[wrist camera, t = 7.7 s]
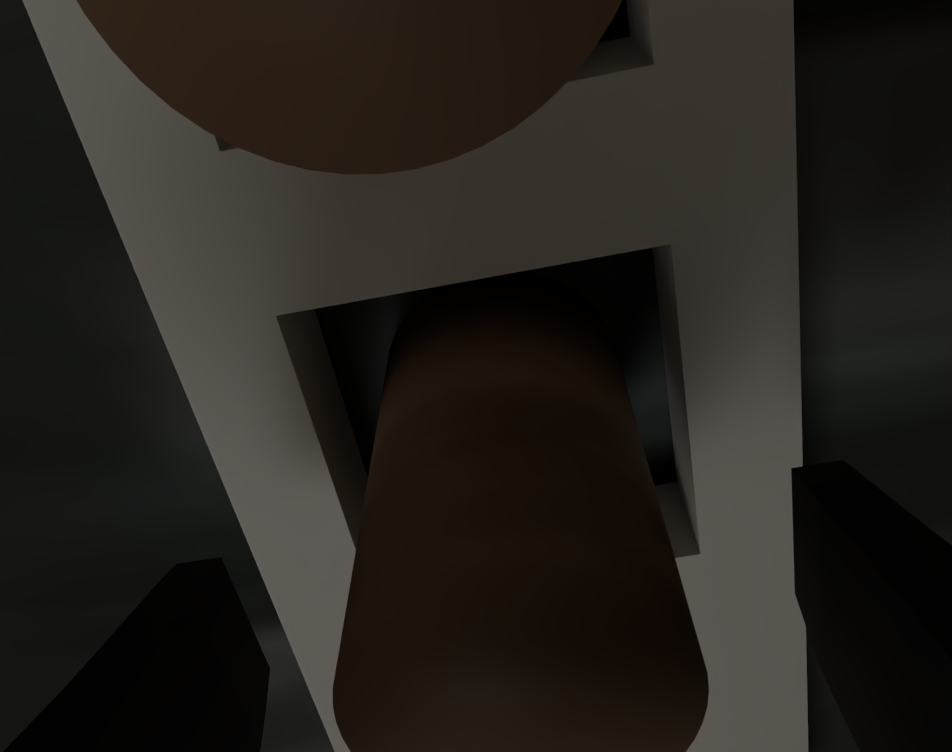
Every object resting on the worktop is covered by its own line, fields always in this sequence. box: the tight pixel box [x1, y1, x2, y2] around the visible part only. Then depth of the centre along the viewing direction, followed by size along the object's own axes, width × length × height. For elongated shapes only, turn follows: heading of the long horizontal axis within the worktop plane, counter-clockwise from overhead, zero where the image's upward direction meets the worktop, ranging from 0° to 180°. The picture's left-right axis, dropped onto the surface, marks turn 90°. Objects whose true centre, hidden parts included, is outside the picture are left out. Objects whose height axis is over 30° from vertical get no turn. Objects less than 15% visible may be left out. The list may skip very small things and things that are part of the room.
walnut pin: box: [333, 272, 709, 752], centre depth 13 cm, size 4×4×7 cm
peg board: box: [23, 0, 808, 752], centre depth 15 cm, size 23×9×2 cm, turn 11°
